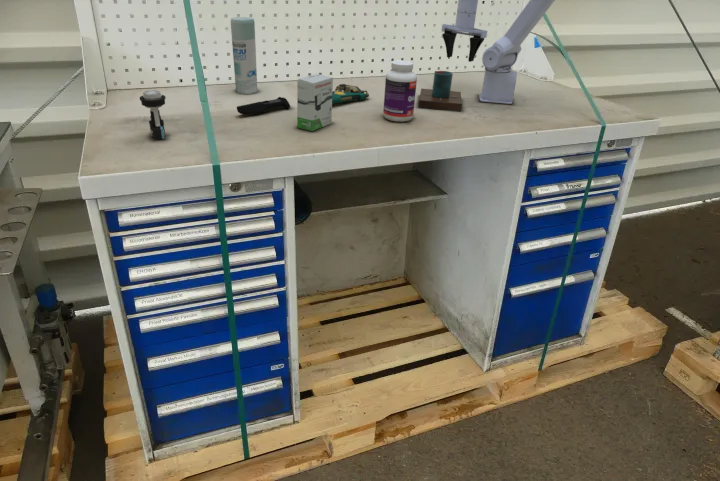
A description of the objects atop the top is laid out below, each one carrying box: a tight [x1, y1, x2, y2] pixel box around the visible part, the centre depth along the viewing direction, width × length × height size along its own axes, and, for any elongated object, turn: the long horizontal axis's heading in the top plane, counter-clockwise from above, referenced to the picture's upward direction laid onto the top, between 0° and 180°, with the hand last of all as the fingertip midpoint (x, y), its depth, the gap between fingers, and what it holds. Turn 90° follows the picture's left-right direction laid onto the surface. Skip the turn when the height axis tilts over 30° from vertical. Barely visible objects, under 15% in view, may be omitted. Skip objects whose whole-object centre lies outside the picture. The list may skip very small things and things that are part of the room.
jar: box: [431, 70, 454, 98], centre depth 151 cm, size 5×5×7 cm
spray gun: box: [332, 83, 370, 105], centre depth 152 cm, size 4×17×15 cm
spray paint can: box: [230, 16, 258, 95], centre depth 150 cm, size 6×6×20 cm
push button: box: [139, 90, 167, 141], centre depth 118 cm, size 7×5×10 cm
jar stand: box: [418, 88, 463, 112], centre depth 154 cm, size 13×12×2 cm
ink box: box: [296, 73, 334, 132], centre depth 129 cm, size 9×5×12 cm, turn 148°
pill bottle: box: [382, 59, 418, 123], centre depth 136 cm, size 8×8×14 cm
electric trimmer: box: [236, 96, 291, 116], centre depth 138 cm, size 4×16×3 cm, turn 133°
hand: (460, 59), depth 164 cm, fingers open, 7 cm apart
